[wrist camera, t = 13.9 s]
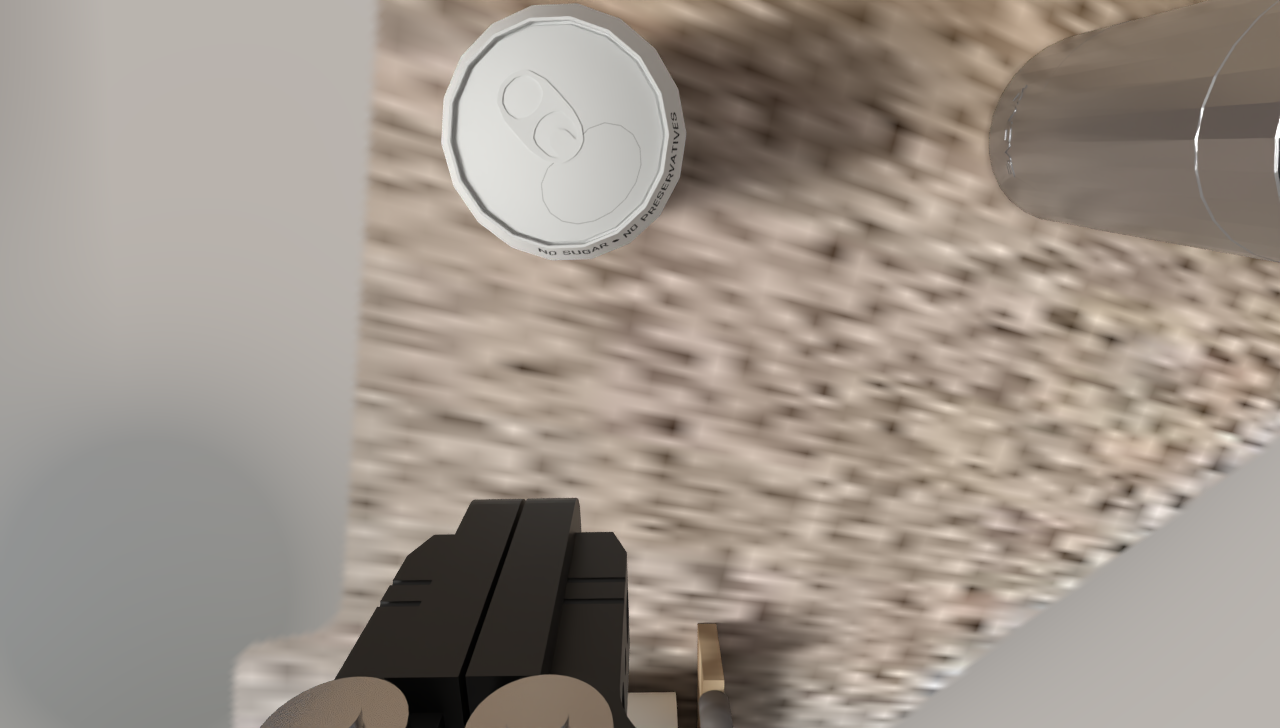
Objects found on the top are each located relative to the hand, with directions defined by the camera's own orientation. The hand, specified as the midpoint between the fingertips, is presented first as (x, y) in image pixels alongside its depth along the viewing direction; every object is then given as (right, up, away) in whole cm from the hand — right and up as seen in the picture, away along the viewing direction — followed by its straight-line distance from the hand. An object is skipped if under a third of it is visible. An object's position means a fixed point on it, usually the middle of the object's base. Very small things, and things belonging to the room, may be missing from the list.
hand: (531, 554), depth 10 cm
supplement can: (-1, +14, +26) cm, 30 cm away
